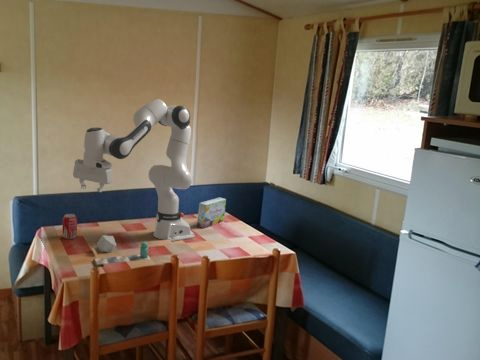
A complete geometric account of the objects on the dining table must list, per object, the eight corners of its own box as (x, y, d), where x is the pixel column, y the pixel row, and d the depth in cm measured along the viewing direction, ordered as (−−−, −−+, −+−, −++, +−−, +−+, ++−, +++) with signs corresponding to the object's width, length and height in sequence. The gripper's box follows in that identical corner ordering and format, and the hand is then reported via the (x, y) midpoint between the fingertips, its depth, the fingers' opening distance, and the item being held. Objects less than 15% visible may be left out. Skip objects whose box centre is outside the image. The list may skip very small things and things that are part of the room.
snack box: (203, 229, 279) (205, 204, 275) (196, 226, 282) (198, 202, 278) (224, 221, 296) (226, 198, 293) (217, 219, 299) (219, 196, 296)
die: (105, 258, 225) (118, 241, 227) (90, 247, 226) (103, 230, 227) (109, 258, 234) (122, 241, 235) (95, 247, 234) (108, 231, 236)
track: (147, 255, 232) (147, 253, 231) (151, 261, 226) (152, 259, 225) (93, 261, 220) (93, 258, 219) (96, 267, 214) (96, 264, 213)
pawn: (146, 255, 229) (147, 240, 228) (148, 258, 226) (149, 243, 225) (139, 255, 228) (139, 241, 226) (141, 258, 225) (141, 243, 223)
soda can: (64, 234, 249) (64, 212, 246) (78, 235, 249) (78, 213, 247) (60, 239, 242) (61, 217, 239) (74, 240, 243) (75, 217, 240)
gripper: (70, 159, 224) (69, 187, 227) (106, 165, 218) (104, 194, 220) (79, 157, 230) (78, 185, 233) (114, 164, 223) (112, 192, 226)
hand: (91, 190), depth 227 cm, fingers open, 8 cm apart
